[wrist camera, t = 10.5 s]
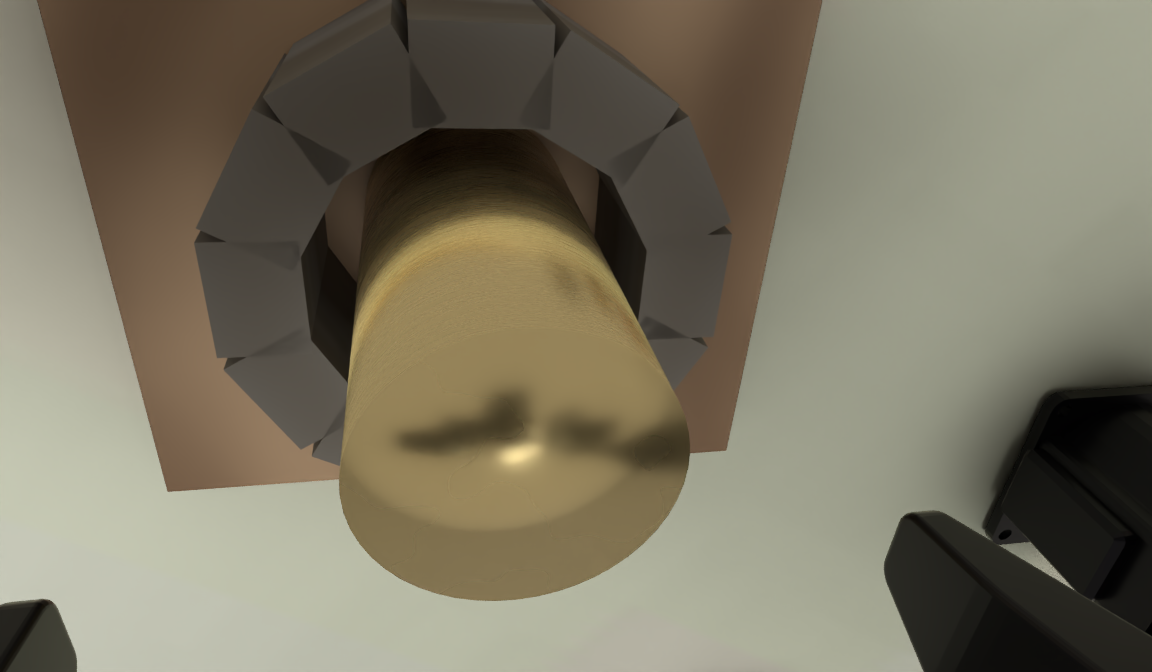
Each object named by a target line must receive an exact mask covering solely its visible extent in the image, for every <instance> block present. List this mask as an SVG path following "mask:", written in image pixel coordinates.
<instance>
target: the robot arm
mask: <svg viewBox="0 0 1152 672" xmlns="http://www.w3.org/2000/svg"><path fill="white" fill-rule="evenodd" d="M985 533H986V535H987V536H988V537H989V539H990V540H989V539H987V538H986V537H984V536H982V535H980V534H979V533H977V532H975V531H974V530H972V529H970V528H969V527H967V526H965V525H964V524H962V523H960V522H959V521H957V520H955V519H954V518H952V517H950V516H949V515H947V514H945V513H943V512H940V511H935V510H932V511H921V512H911V513H908V514H906V515H904V516H903V517H902V518H901V520H900V522H899V524H898V527H897V529H896V532H895V535H894V537H893V540H892V542H891V545H890V548H889V550H888V553H887V555H886V558H885V562H884V574H885V579H886V582H887V585H888V587H889V590H890V592H891V595H892V597H893V599H894V602H895V604H896V607H897V609H898V611H899V614H900V616H901V619H902V621H903V623H904V626H905V628H906V631H907V633H908V635H909V638H910V640H911V643H912V645H913V647H914V650H915V652H916V655H917V657H918V659H919V662H920V664H921V667H922V669H923V671H924V672H1152V386H1141V387H1126V388H1110V389H1094V390H1079V391H1063V392H1058V393H1055V394H1053V395H1051V396H1050V397H1049V398H1048V399H1047V400H1046V401H1045V402H1044V404H1043V406H1042V408H1041V410H1040V412H1039V414H1038V416H1037V419H1036V421H1035V423H1034V425H1033V427H1032V429H1031V431H1030V434H1029V436H1028V438H1027V440H1026V442H1025V444H1024V447H1023V449H1022V451H1021V453H1020V455H1019V457H1018V460H1017V462H1016V464H1015V466H1014V468H1013V470H1012V473H1011V475H1010V477H1009V479H1008V481H1007V483H1006V486H1005V488H1004V490H1003V492H1002V494H1001V496H1000V499H999V501H998V503H997V505H996V507H995V509H994V512H993V514H992V516H991V518H990V520H989V522H988V525H987V527H986V530H985ZM1021 542H1031V543H1032V544H1033V546H1034V547H1035V548H1036V549H1037V550H1038V551H1039V552H1040V553H1041V554H1042V555H1043V556H1044V557H1045V558H1046V560H1047V561H1048V562H1049V563H1050V564H1051V565H1052V566H1053V567H1054V568H1055V569H1056V570H1057V571H1058V573H1059V574H1060V575H1061V576H1062V577H1063V578H1064V579H1065V580H1066V581H1067V582H1068V583H1069V584H1070V586H1071V587H1072V588H1073V589H1074V590H1073V589H1071V588H1070V587H1068V586H1066V585H1065V584H1063V583H1061V582H1059V581H1058V580H1056V579H1054V578H1053V577H1051V576H1049V575H1048V574H1046V573H1044V572H1043V571H1041V570H1039V569H1038V568H1036V567H1034V566H1033V565H1031V564H1029V563H1028V562H1026V561H1024V560H1022V559H1021V558H1019V557H1017V556H1016V555H1014V554H1012V553H1011V552H1009V551H1007V550H1006V549H1004V548H1002V547H1001V546H999V545H1002V544H1012V543H1021ZM0 672H77V658H76V653H75V650H74V647H73V645H72V642H71V640H70V638H69V635H68V633H67V630H66V628H65V625H64V623H63V620H62V618H61V615H60V613H59V610H58V608H57V607H56V605H55V604H54V603H53V602H52V601H50V600H46V599H38V600H28V601H18V602H9V603H5V604H2V605H0Z"/></svg>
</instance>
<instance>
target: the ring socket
mask: <svg viewBox="0 0 1152 672" xmlns="http://www.w3.org/2000/svg"><path fill="white" fill-rule="evenodd" d="M37 2H38V5H39V9H40V13H41V17H42V20H43V24H44V28H45V32H46V35H47V39H48V43H49V47H50V50H51V54H52V58H53V62H54V66H55V69H56V73H57V77H58V81H59V84H60V88H61V92H62V96H63V99H64V103H65V107H66V111H67V114H68V118H69V122H70V126H71V130H72V133H73V137H74V141H75V145H76V148H77V152H78V156H79V160H80V163H81V167H82V171H83V175H84V178H85V182H86V186H87V190H88V194H89V197H90V201H91V205H92V209H93V212H94V216H95V220H96V224H97V227H98V231H99V235H100V239H101V242H102V246H103V250H104V254H105V257H106V261H107V265H108V269H109V273H110V276H111V280H112V284H113V288H114V291H115V295H116V299H117V303H118V306H119V310H120V314H121V318H122V321H123V325H124V329H125V333H126V337H127V340H128V344H129V348H130V352H131V355H132V359H133V363H134V367H135V370H136V374H137V378H138V382H139V385H140V389H141V393H142V397H143V400H144V404H145V408H146V412H147V416H148V419H149V423H150V427H151V431H152V434H153V438H154V442H155V446H156V449H157V453H158V457H159V461H160V464H161V468H162V472H163V476H164V480H165V483H166V487H167V491H168V492H171V491H185V490H199V489H212V488H226V487H239V486H253V485H266V484H280V483H293V482H307V481H320V480H334V479H339V472H340V461H341V451H342V440H343V430H344V419H345V409H346V398H347V388H348V377H349V367H350V356H351V346H352V335H353V325H354V314H355V304H356V293H357V283H358V272H359V262H360V251H361V241H362V230H363V220H364V209H365V199H366V191H367V184H368V181H369V177H370V174H371V171H372V169H373V167H374V165H375V162H376V160H377V159H378V158H379V157H380V156H382V155H384V154H386V153H387V152H389V151H391V150H393V149H395V148H396V147H398V146H400V145H402V144H404V143H405V142H407V141H409V140H411V139H412V138H414V137H416V136H418V135H420V134H421V133H423V132H425V131H427V130H429V129H430V128H465V129H528V130H529V131H531V132H532V133H533V134H534V135H535V136H536V137H537V138H538V139H539V140H540V141H541V142H542V143H543V144H544V145H545V147H546V148H547V149H548V150H549V152H550V154H551V155H552V157H553V158H554V160H555V162H556V164H557V166H558V168H559V170H560V172H561V173H562V175H563V177H564V179H565V181H566V183H567V185H568V187H569V189H570V191H571V193H572V195H573V197H574V199H575V201H576V203H577V205H578V206H579V208H580V210H581V212H582V214H583V216H584V218H585V220H586V222H587V224H588V226H589V228H590V230H591V232H592V234H593V236H594V238H595V239H596V241H597V243H598V245H599V247H600V249H601V251H602V253H603V255H604V257H605V259H606V261H607V263H608V265H609V267H610V269H611V270H612V272H613V274H614V276H615V278H616V280H617V282H618V284H619V286H620V288H621V290H622V292H623V294H624V296H625V298H626V300H627V302H628V303H629V305H630V307H631V309H632V311H633V313H634V315H635V317H636V319H637V321H638V323H639V325H640V327H641V329H642V331H643V333H644V334H645V336H646V338H647V340H648V342H649V344H650V346H651V348H652V350H653V352H654V354H655V356H656V358H657V360H658V362H659V364H660V366H661V367H662V369H663V371H664V373H665V375H666V377H667V379H668V381H669V383H670V385H671V387H672V389H673V391H674V393H675V395H676V397H677V398H678V401H679V403H680V405H681V408H682V410H683V412H684V415H685V418H686V422H687V426H688V430H689V440H690V453H699V452H712V451H726V449H727V444H728V440H729V435H730V430H731V425H732V421H733V416H734V411H735V407H736V402H737V397H738V393H739V388H740V383H741V379H742V374H743V369H744V365H745V360H746V355H747V350H748V346H749V341H750V336H751V332H752V327H753V322H754V318H755V313H756V308H757V304H758V299H759V294H760V290H761V285H762V280H763V275H764V271H765V266H766V261H767V257H768V252H769V247H770V243H771V238H772V233H773V229H774V224H775V219H776V215H777V210H778V205H779V200H780V196H781V191H782V186H783V182H784V177H785V172H786V168H787V163H788V158H789V154H790V149H791V144H792V140H793V135H794V130H795V125H796V121H797V116H798V111H799V107H800V102H801V97H802V93H803V88H804V83H805V79H806V74H807V69H808V65H809V60H810V55H811V50H812V46H813V41H814V36H815V32H816V27H817V22H818V18H819V13H820V8H821V4H822V0H37Z"/></svg>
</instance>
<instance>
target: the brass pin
mask: <svg viewBox="0 0 1152 672" xmlns="http://www.w3.org/2000/svg"><path fill="white" fill-rule="evenodd" d="M689 456H690V440H689V430H688V426H687V422H686V418H685V415H684V412H683V410H682V408H681V405H680V403H679V401H678V398H677V397H676V395H675V393H674V391H673V389H672V387H671V385H670V383H669V381H668V379H667V377H666V375H665V373H664V371H663V369H662V367H661V366H660V364H659V362H658V360H657V358H656V356H655V354H654V352H653V350H652V348H651V346H650V344H649V342H648V340H647V338H646V336H645V334H644V333H643V331H642V329H641V327H640V325H639V323H638V321H637V319H636V317H635V315H634V313H633V311H632V309H631V307H630V305H629V303H628V302H627V300H626V298H625V296H624V294H623V292H622V290H621V288H620V286H619V284H618V282H617V280H616V278H615V276H614V274H613V272H612V270H611V269H610V267H609V265H608V263H607V261H606V259H605V257H604V255H603V253H602V251H601V249H600V247H599V245H598V243H597V241H596V239H595V238H594V236H593V234H592V232H591V230H590V228H589V226H588V224H587V222H586V220H585V218H584V216H583V214H582V212H581V210H580V208H579V206H578V205H577V203H576V201H575V199H574V197H573V195H572V193H571V191H570V189H569V187H568V185H567V183H566V181H565V179H564V177H563V175H562V173H561V172H560V170H559V168H558V166H557V164H556V162H555V160H554V158H553V157H552V155H551V154H550V152H549V150H548V149H547V148H546V147H545V145H544V144H543V143H542V142H541V141H540V140H539V139H538V138H537V137H536V136H535V135H534V134H533V133H532V132H531V131H529V130H528V129H465V128H430V129H429V130H427V131H425V132H423V133H421V134H420V135H418V136H416V137H414V138H412V139H411V140H409V141H407V142H405V143H404V144H402V145H400V146H398V147H396V148H395V149H393V150H391V151H389V152H387V153H386V154H384V155H382V156H380V157H379V158H378V159H377V160H376V162H375V165H374V167H373V169H372V171H371V174H370V177H369V181H368V184H367V191H366V199H365V209H364V220H363V230H362V241H361V251H360V262H359V272H358V283H357V293H356V304H355V314H354V325H353V335H352V346H351V356H350V367H349V377H348V388H347V398H346V409H345V419H344V430H343V440H342V451H341V461H340V472H339V490H340V499H341V503H342V508H343V513H344V515H345V517H346V520H347V522H348V525H349V527H350V529H351V531H352V533H353V534H354V536H355V537H356V539H357V541H358V542H359V544H360V545H361V546H362V547H363V548H364V549H365V551H366V552H367V553H368V554H369V555H370V556H371V557H372V558H373V559H374V560H375V561H376V562H377V563H379V564H380V565H381V566H382V567H383V568H385V569H386V570H387V571H389V572H391V573H392V574H394V575H395V576H397V577H398V578H400V579H402V580H404V581H406V582H408V583H410V584H412V585H415V586H417V587H419V588H422V589H425V590H428V591H431V592H434V593H437V594H441V595H446V596H450V597H454V598H461V599H470V600H485V601H501V600H516V599H523V598H530V597H536V596H540V595H545V594H549V593H553V592H557V591H560V590H563V589H566V588H569V587H572V586H575V585H577V584H580V583H582V582H584V581H586V580H589V579H591V578H593V577H595V576H597V575H599V574H601V573H603V572H604V571H606V570H608V569H610V568H612V567H613V566H615V565H616V564H618V563H619V562H621V561H622V560H623V559H625V558H626V557H628V556H629V555H630V554H632V553H633V552H634V551H635V550H636V549H638V548H639V547H640V546H641V545H642V544H644V543H645V541H646V540H647V539H648V538H649V537H650V536H651V535H652V534H653V533H654V532H655V531H656V530H657V529H658V528H659V526H660V525H661V524H662V522H663V521H664V520H665V518H666V517H667V516H668V514H669V513H670V511H671V509H672V507H673V506H674V504H675V502H676V501H677V499H678V496H679V494H680V492H681V489H682V487H683V485H684V481H685V478H686V474H687V470H688V465H689Z"/></svg>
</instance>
